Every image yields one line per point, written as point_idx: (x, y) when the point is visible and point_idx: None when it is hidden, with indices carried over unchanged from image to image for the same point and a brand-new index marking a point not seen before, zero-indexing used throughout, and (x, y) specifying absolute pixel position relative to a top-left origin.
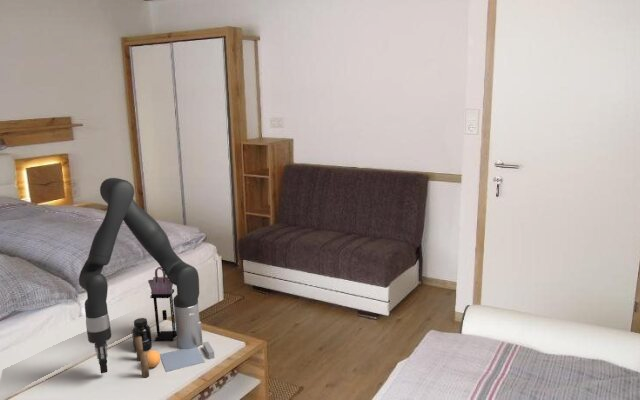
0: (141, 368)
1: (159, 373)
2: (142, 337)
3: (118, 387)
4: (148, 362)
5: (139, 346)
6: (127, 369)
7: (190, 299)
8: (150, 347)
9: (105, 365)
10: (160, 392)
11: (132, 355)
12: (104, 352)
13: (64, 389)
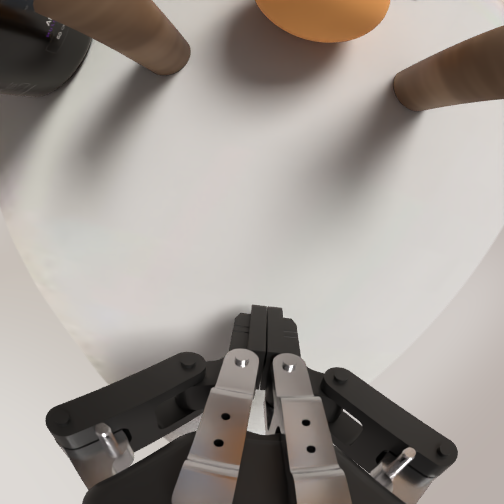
0: (453, 104)
1: (417, 26)
2: (27, 8)
3: (427, 259)
4: (379, 22)
5: (143, 5)
6: (251, 155)
7: None
8: None
9: (299, 352)
10: None
11: (84, 103)
12: (363, 469)
13: (264, 430)
